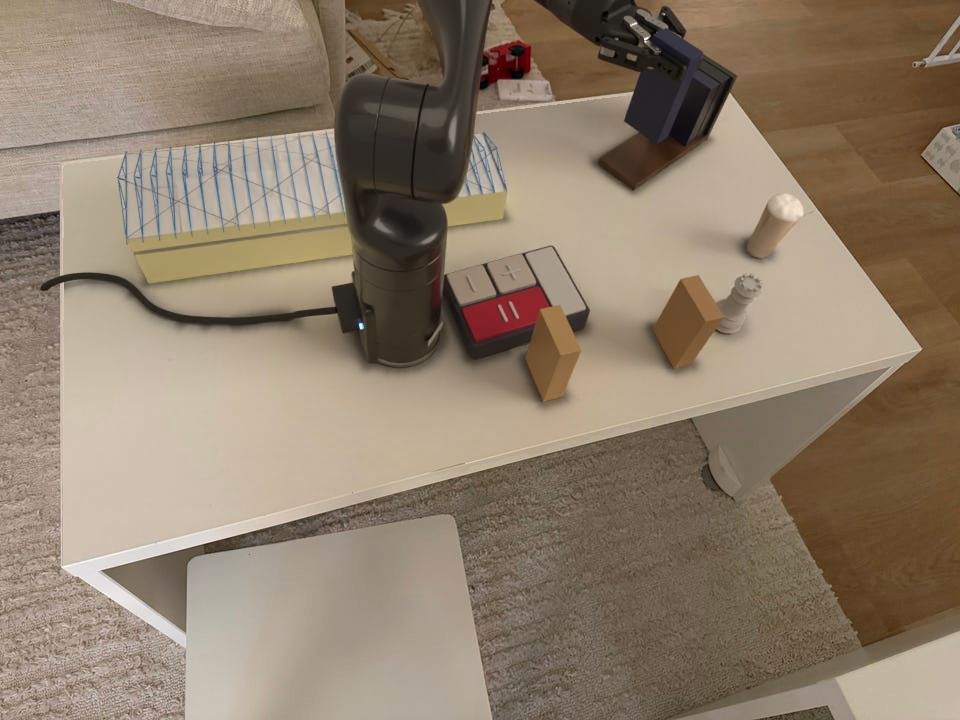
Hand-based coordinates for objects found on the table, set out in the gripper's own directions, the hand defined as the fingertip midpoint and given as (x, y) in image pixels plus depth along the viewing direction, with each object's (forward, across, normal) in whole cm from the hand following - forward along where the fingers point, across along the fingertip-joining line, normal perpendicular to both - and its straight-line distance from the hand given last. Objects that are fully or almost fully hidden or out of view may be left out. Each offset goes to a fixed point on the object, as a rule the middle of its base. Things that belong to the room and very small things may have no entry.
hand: (690, 69), depth 82 cm
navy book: (-3, 0, +11) cm, 11 cm away
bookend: (-3, +5, +18) cm, 18 cm away
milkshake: (+19, +1, +18) cm, 26 cm away
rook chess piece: (+23, -13, +18) cm, 32 cm away
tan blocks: (+17, -29, +17) cm, 38 cm away
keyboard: (-22, -41, +18) cm, 49 cm away
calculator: (+5, -32, +18) cm, 37 cm away
